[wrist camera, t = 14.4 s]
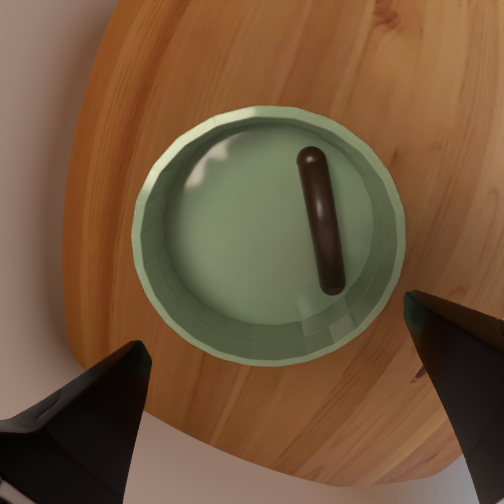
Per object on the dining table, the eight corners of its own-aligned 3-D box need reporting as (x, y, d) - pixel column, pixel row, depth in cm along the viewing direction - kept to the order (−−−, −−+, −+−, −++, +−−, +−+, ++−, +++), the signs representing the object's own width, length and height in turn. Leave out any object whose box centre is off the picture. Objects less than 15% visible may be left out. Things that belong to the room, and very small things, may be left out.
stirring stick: (335, 303, 18) (315, 296, 19) (352, 290, 18) (332, 284, 20) (308, 146, 14) (286, 150, 16) (329, 142, 15) (307, 145, 17)
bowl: (383, 304, 20) (404, 338, 16) (197, 339, 22) (185, 377, 18) (357, 99, 15) (383, 86, 11) (133, 153, 17) (99, 157, 13)
